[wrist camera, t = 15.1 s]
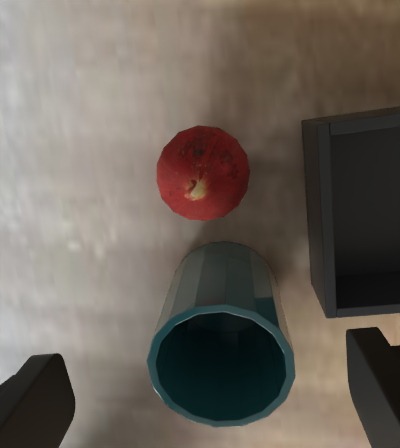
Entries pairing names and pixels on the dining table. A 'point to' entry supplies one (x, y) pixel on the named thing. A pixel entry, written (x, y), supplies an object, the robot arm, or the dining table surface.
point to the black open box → (354, 211)
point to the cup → (222, 339)
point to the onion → (203, 173)
